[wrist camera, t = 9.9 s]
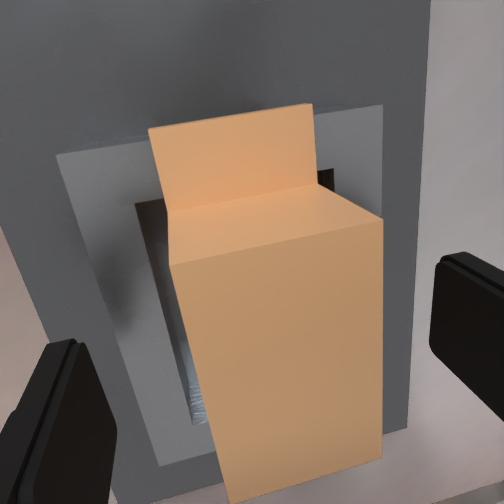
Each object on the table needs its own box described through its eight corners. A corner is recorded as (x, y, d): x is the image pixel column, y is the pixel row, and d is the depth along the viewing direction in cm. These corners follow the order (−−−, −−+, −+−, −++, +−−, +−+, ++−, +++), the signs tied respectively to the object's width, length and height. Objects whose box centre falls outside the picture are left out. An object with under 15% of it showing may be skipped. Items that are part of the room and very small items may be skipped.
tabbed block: (151, 123, 11) (138, 147, 6) (281, 102, 12) (383, 105, 6) (214, 391, 15) (242, 553, 10) (307, 367, 16) (381, 506, 10)
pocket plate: (-84, -21, 10) (-182, -68, 7) (413, -62, 12) (490, -112, 9) (123, 490, 18) (116, 561, 15) (395, 412, 20) (432, 462, 17)
